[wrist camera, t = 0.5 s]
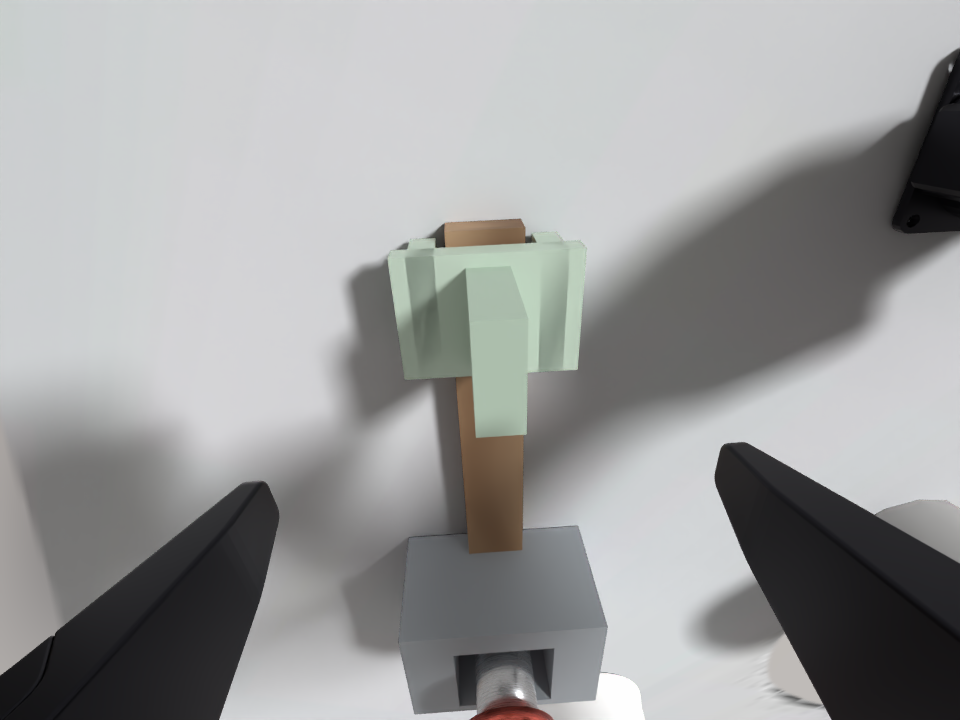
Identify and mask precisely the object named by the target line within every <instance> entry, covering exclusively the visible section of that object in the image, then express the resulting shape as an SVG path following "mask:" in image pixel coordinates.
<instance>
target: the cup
mask: <svg viewBox="0 0 960 720" xmlns="http://www.w3.org/2000/svg"><path fill="white" fill-rule="evenodd" d="M875 515H876V516H877V517H879V518H881V519H883V520H884V521H886V522H888V523H890V524H892V525H893V526H895V527H897V528H899V529H900V530H902V531H904V532H906V533H907V534H909V535H911V536H913V537H915V538H916V539H918V540H920V541H922V542H923V543H925V544H927V545H929V546H930V547H932V548H934V549H936V550H938V551H939V552H941V553H943V554H945V555H946V556H948V557H950V558H952V559H953V560H955V561H957V562H959V563H960V508H959V507H957V506H955V505H954V504H952V503H950V502H948V501H947V500H916V501H912V502H908V503H905V504H901V505H897V506H894V507H890V508H887V509H884V510H882V511H881V512H879V513H877V514H875Z"/></svg>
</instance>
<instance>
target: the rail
mask: <svg viewBox="0 0 960 720" xmlns="http://www.w3.org/2000/svg"><path fill="white" fill-rule="evenodd" d="M444 235H445V247H464V246H483V245H502V244H521V243H525V226H524V224H523V222H522V221H521V219H509V220H489V221H470V222H451V223H445V229H444ZM456 390H457V402H458V415H459V428H460V441H461V454H462V467H463V480H464V493H465V506H466V519H467V532H468V545H469V554H475V553H489V552H504V551H518V550H522V540H523V435H513V436H497V437H481V438H476V432H475V417H474V402H473V386H472V376H465V377H456Z"/></svg>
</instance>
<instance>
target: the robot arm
mask: <svg viewBox="0 0 960 720" xmlns="http://www.w3.org/2000/svg"><path fill="white" fill-rule="evenodd" d="M910 217H911V219H910V221H909V222H908V223H907V221H908V219H909V218H910ZM892 226H893V228H894V229H895V230H896V231H900V232H903V233H927V232H945V231H960V54H959V56H958V57H957V59H956V62H955V64H954V67H953V69H952V72H951V74H950V77H949V79H948V82H947V84H946V87H945V89H944V92H943V94H942V97H941V99H940V102H939V105H938V107H937V110H936V112H935V115H934V117H933V120H932V122H931V125H930V127H929V130H928V132H927V135H926V137H925V140H924V142H923V145H922V147H921V150H920V152H919V155H918V157H917V160H916V162H915V165H914V168H913V170H912V173H911V175H910V178H909V180H908V183H907V185H906V188H905V190H904V193H903V195H902V198H901V200H900V203H899V205H898V208H897V210H896V213H895V215H894V218H893V221H892ZM715 484H716V487H717V490H718V492H719V495H720V497H721V500H722V502H723V505H724V507H725V510H726V512H727V515H728V517H729V520H730V522H731V525H732V527H733V529H734V532H735V534H736V537H737V539H738V542H739V544H740V547H741V549H742V551H743V554H744V556H745V558H746V560H747V562H748V564H749V566H750V568H751V570H752V572H753V574H754V576H755V578H756V580H757V581H758V583H759V585H760V587H761V589H762V591H763V593H764V594H765V596H766V598H767V600H768V602H769V604H770V606H771V608H772V609H773V611H774V613H775V615H776V617H777V619H778V621H779V623H780V624H781V626H782V628H783V630H784V632H785V634H786V636H787V637H788V639H789V641H790V643H791V645H792V647H793V649H794V650H795V652H796V654H797V656H798V658H799V660H800V662H801V664H802V665H803V667H804V669H805V671H806V673H807V675H808V677H809V679H810V680H811V682H812V684H813V686H814V688H815V690H816V692H817V694H818V695H819V697H820V699H821V701H822V703H823V705H824V707H825V708H826V710H827V712H828V714H829V716H830V718H831V720H960V563H959V562H957V561H955V560H953V559H952V558H950V557H948V556H946V555H945V554H943V553H941V552H939V551H938V550H936V549H934V548H932V547H930V546H929V545H927V544H925V543H923V542H922V541H920V540H918V539H916V538H915V537H913V536H911V535H909V534H907V533H906V532H904V531H902V530H900V529H899V528H897V527H895V526H893V525H892V524H890V523H888V522H886V521H884V520H883V519H881V518H879V517H877V516H876V515H874V514H872V513H870V512H869V511H867V510H865V509H863V508H861V507H860V506H858V505H856V504H854V503H853V502H851V501H849V500H847V499H846V498H844V497H842V496H840V495H838V494H837V493H835V492H833V491H831V490H830V489H828V488H826V487H824V486H823V485H821V484H819V483H817V482H815V481H814V480H812V479H810V478H808V477H807V476H805V475H803V474H801V473H800V472H798V471H796V470H794V469H792V468H791V467H789V466H787V465H785V464H784V463H782V462H780V461H778V460H777V459H775V458H773V457H771V456H769V455H768V454H766V453H764V452H762V451H761V450H759V449H757V448H755V447H754V446H752V445H750V444H748V443H745V442H738V443H727V444H724V445H723V446H722V447H721V450H720V453H719V458H718V462H717V466H716V471H715ZM278 522H279V510H278V507H277V505H276V502H275V500H274V498H273V495H272V493H271V491H270V488H269V486H268V484H267V483H266V482H264V481H253V482H245V483H242V484H241V485H239V486H238V487H237V488H235V489H234V490H233V491H232V492H230V493H229V494H228V495H227V496H225V497H224V498H223V499H222V500H220V501H219V502H218V503H217V504H215V505H214V506H213V507H212V508H210V509H209V510H208V511H207V512H205V513H204V514H203V515H202V516H200V517H199V518H198V519H197V520H195V521H194V522H193V523H192V524H190V525H189V526H188V527H187V528H185V529H184V530H183V531H182V532H180V533H179V534H178V535H177V536H175V537H174V538H173V539H172V540H170V541H169V542H168V543H167V544H165V545H164V546H163V547H162V548H160V549H159V550H158V551H157V552H155V553H154V554H153V555H152V556H150V557H149V558H148V559H147V560H145V561H144V562H143V563H142V564H140V565H139V566H138V567H137V568H135V569H134V570H133V571H132V572H130V573H129V574H128V575H127V576H125V577H124V578H123V579H122V580H120V581H119V582H118V583H117V584H115V585H114V586H113V587H112V588H110V589H109V590H108V591H106V592H105V593H104V594H103V595H101V596H100V597H99V598H98V599H96V600H95V601H94V602H93V603H91V604H90V605H89V606H88V607H86V608H85V609H84V610H83V611H81V612H80V613H79V614H78V615H76V616H75V617H74V618H73V619H71V620H70V621H69V622H68V623H66V624H65V625H64V626H63V627H61V628H60V629H59V630H58V631H57V632H56V633H55V636H50V637H49V638H48V639H46V640H45V641H44V642H43V643H41V644H40V645H39V646H38V647H36V648H35V649H34V650H33V651H31V652H30V653H29V654H28V655H27V656H25V657H24V658H23V659H21V660H20V661H19V662H17V663H16V664H15V665H13V666H12V667H11V668H10V669H8V670H7V671H6V672H4V673H3V674H2V675H1V676H0V720H219V718H220V716H221V713H222V710H223V707H224V704H225V701H226V698H227V695H228V692H229V689H230V686H231V683H232V681H233V678H234V675H235V672H236V669H237V666H238V663H239V660H240V657H241V654H242V651H243V649H244V646H245V643H246V640H247V637H248V634H249V631H250V628H251V625H252V622H253V619H254V616H255V614H256V611H257V608H258V604H259V601H260V598H261V595H262V591H263V587H264V583H265V579H266V575H267V570H268V566H269V562H270V557H271V553H272V549H273V544H274V540H275V535H276V531H277V527H278Z"/></svg>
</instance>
